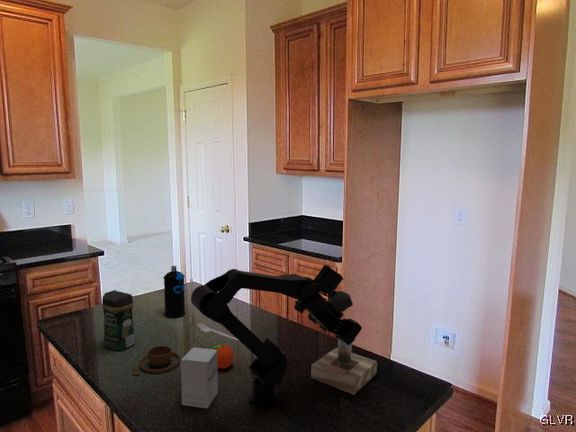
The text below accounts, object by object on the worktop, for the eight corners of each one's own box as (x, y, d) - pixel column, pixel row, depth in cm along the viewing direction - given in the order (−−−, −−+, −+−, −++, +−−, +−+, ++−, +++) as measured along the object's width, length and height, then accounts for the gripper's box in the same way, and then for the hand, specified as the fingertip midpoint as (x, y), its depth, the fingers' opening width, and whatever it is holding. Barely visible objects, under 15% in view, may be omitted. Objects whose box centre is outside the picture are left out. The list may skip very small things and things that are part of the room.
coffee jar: (99, 346, 138) (97, 293, 135) (119, 337, 145) (117, 286, 142) (119, 353, 133) (116, 298, 131) (139, 344, 140) (137, 291, 137)
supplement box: (208, 409, 105) (207, 362, 103) (181, 405, 106) (179, 359, 104) (218, 393, 112) (218, 349, 110) (193, 389, 113) (192, 346, 112)
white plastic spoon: (237, 344, 143) (237, 339, 143) (195, 329, 154) (195, 324, 153) (243, 341, 146) (243, 336, 145) (202, 326, 156) (202, 321, 156)
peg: (349, 364, 118) (351, 324, 117) (336, 361, 120) (337, 322, 118) (352, 358, 122) (354, 319, 121) (339, 355, 124) (340, 317, 122)
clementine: (208, 374, 121) (207, 351, 120) (206, 363, 128) (206, 341, 127) (235, 371, 123) (235, 348, 122) (232, 360, 130) (232, 338, 129)
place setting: (181, 350, 137) (181, 333, 136) (205, 377, 121) (205, 358, 120) (126, 364, 127) (125, 346, 127) (144, 396, 111) (144, 375, 110)
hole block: (353, 394, 112) (354, 380, 111) (311, 377, 120) (311, 364, 120) (376, 373, 123) (376, 360, 123) (335, 359, 131) (336, 347, 131)
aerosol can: (160, 316, 164) (158, 267, 161) (171, 309, 172) (170, 262, 169) (178, 319, 162) (177, 269, 159) (189, 312, 169) (188, 264, 167)
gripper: (357, 294, 108) (387, 327, 115) (317, 276, 124) (345, 305, 131) (332, 329, 105) (363, 360, 112) (294, 305, 121) (324, 334, 128)
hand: (348, 337), depth 121 cm, fingers closed on peg, 4 cm apart
